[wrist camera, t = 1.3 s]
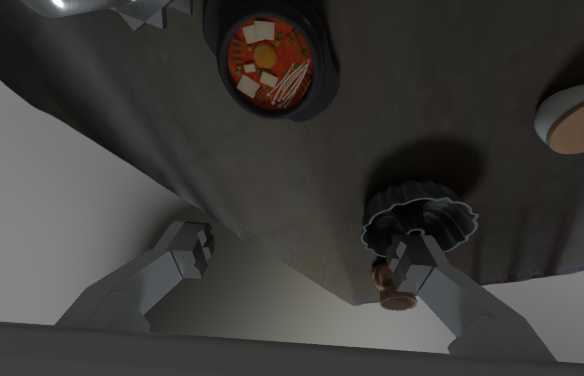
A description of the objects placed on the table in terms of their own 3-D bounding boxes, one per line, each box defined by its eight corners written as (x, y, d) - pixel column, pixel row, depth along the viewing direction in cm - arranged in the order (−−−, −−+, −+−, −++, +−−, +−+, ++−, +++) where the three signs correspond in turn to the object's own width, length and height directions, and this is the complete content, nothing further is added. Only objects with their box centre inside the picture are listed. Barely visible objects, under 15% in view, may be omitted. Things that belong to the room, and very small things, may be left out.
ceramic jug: (419, 267, 86) (433, 307, 75) (388, 279, 94) (396, 316, 84) (389, 249, 79) (398, 290, 69) (358, 263, 88) (363, 301, 78)
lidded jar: (621, 73, 36) (688, 97, 30) (566, 132, 44) (610, 161, 37) (549, 73, 37) (599, 96, 31) (507, 130, 45) (540, 159, 38)
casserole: (363, 69, 39) (371, 86, 33) (293, 134, 50) (289, 157, 44) (246, -76, 29) (227, -88, 23) (188, 46, 39) (165, 59, 33)
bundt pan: (472, 159, 50) (497, 190, 43) (449, 227, 67) (464, 257, 60) (352, 176, 57) (356, 205, 50) (359, 234, 74) (363, 262, 67)
